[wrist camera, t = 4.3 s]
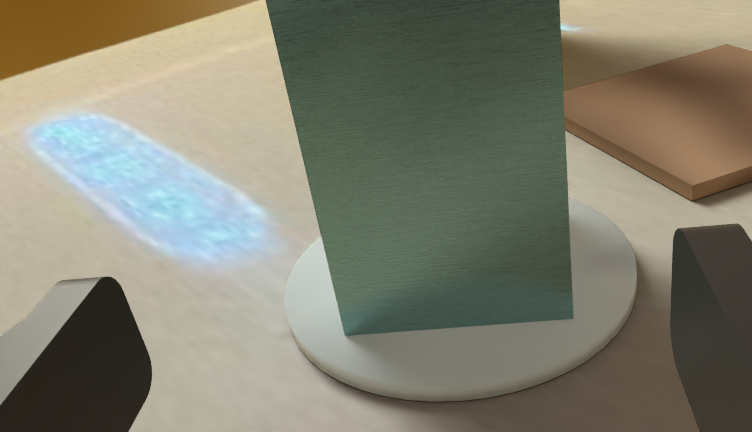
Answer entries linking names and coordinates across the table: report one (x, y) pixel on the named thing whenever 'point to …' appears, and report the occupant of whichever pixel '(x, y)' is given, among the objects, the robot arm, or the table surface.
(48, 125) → the table surface
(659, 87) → the mat
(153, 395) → the table surface
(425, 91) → the cover
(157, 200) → the table surface
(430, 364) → the saucer
